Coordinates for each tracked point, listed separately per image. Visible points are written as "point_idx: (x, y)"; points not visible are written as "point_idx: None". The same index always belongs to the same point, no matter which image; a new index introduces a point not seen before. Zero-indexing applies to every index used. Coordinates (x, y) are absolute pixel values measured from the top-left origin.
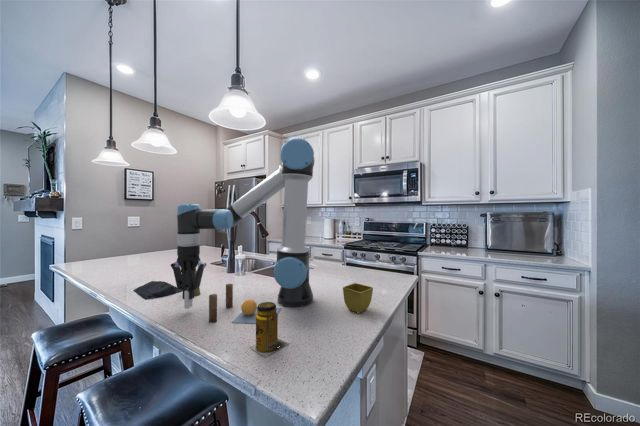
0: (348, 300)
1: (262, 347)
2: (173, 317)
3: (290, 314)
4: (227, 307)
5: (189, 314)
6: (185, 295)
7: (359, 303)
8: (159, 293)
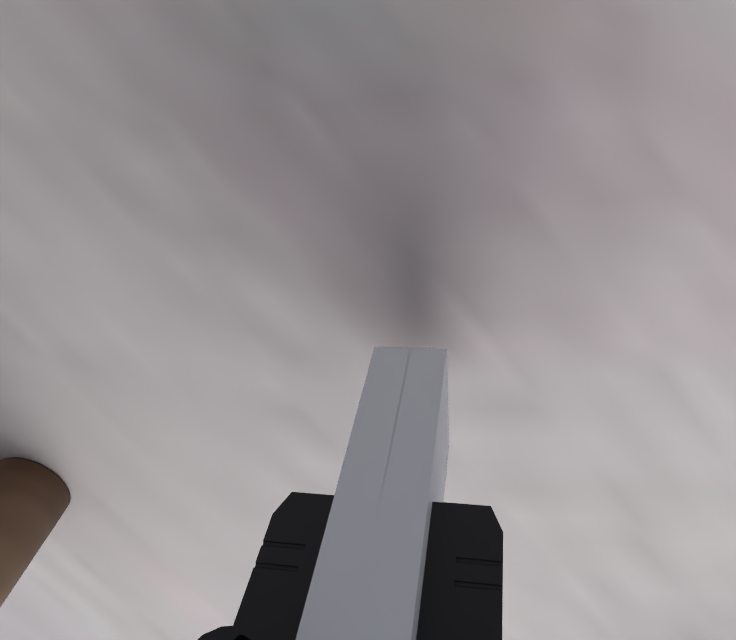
0: None
1: None
2: (549, 153)
3: None
4: (12, 466)
5: (354, 282)
6: (391, 554)
7: None
8: None
